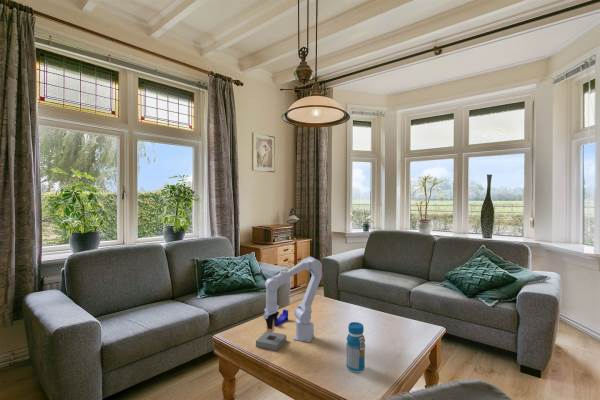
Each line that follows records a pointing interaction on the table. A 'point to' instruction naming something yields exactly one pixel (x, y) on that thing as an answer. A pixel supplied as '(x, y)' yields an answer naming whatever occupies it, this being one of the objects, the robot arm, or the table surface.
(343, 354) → the table surface
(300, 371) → the table surface
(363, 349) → the beverage bottle
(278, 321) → the cable clip
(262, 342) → the socket block
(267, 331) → the plug peg
